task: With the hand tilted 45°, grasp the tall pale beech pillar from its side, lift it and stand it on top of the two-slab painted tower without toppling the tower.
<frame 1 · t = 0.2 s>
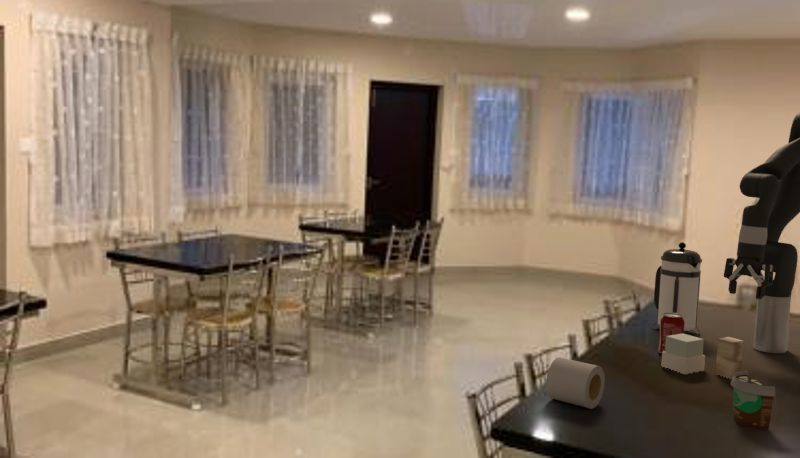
hand: (745, 296, 232), 18 cm above the table, tool pointing down, fingers open, 8 cm apart
coffee press: (672, 331, 263), on the table
food container: (744, 422, 177), on the table
toilet paper: (574, 403, 187), on the table
soda can: (669, 354, 233), on the table
tower base: (682, 369, 219), on the table
beech pillar: (728, 375, 213), on the table
tower top: (683, 353, 218), point 4 cm above the table
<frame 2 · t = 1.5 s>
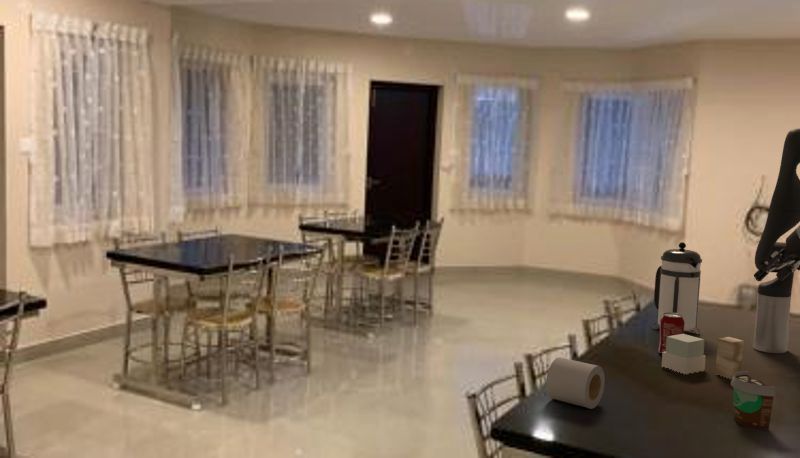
hand: (767, 278, 204), 28 cm above the table, tool tilted 40°, fingers open, 8 cm apart
tower base: (682, 369, 219), on the table, touching tower top
tower top: (684, 353, 218), point 4 cm above the table, touching tower base
everything else where it was.
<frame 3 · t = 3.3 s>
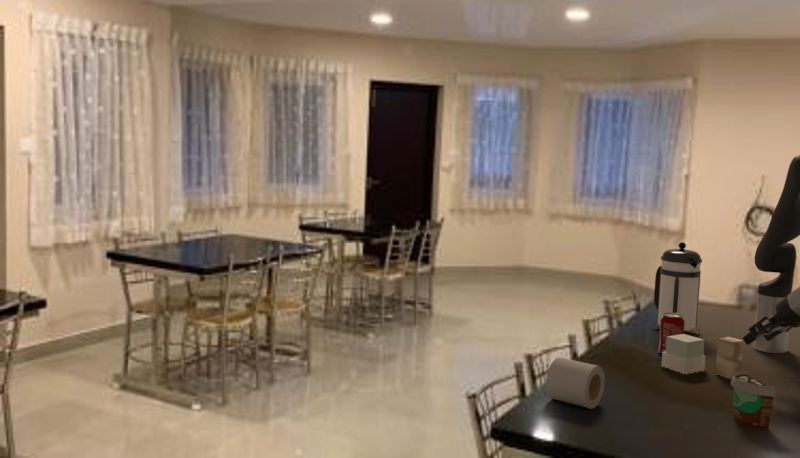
hand: (755, 339, 206), 12 cm above the table, tool tilted 45°, fingers open, 8 cm apart
tower base: (682, 369, 219), on the table
tower top: (684, 353, 218), point 4 cm above the table
everything else where it was.
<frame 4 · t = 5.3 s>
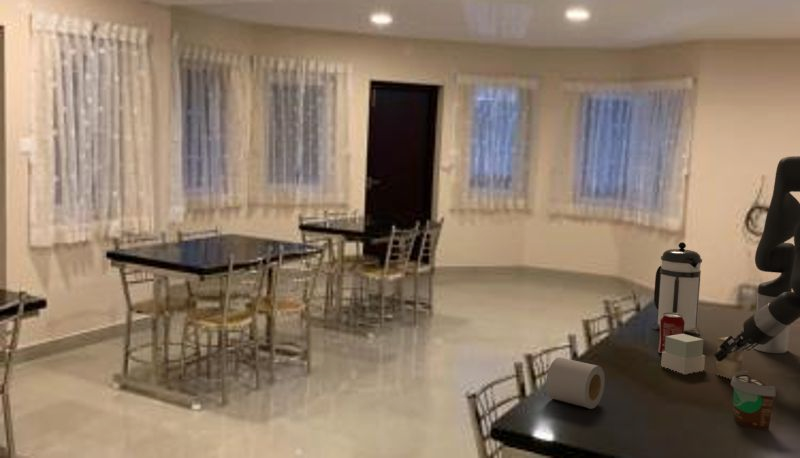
hand: (723, 357, 214), 5 cm above the table, tool tilted 45°, fingers closed on beech pillar, 4 cm apart
tower base: (682, 369, 219), on the table, touching tower top
beech pillar: (728, 375, 213), on the table, touching gripper
tower top: (683, 353, 218), point 4 cm above the table, touching tower base
everything else where it was.
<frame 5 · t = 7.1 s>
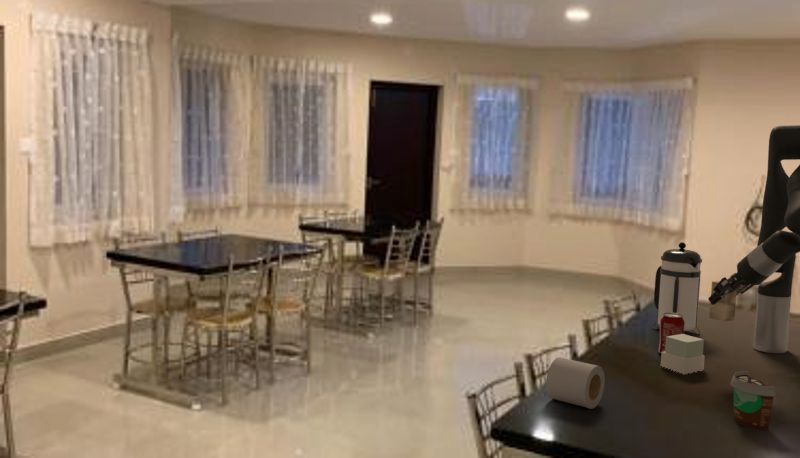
hand: (716, 300, 214), 20 cm above the table, tool tilted 45°, fingers closed on beech pillar, 4 cm apart
beech pillar: (721, 319, 213), point 15 cm above the table, touching gripper
everything else where it was.
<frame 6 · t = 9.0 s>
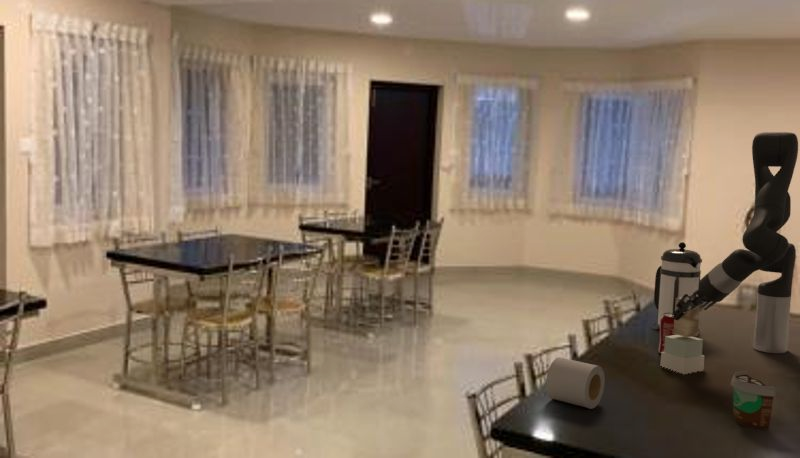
hand: (680, 316, 218), 14 cm above the table, tool tilted 45°, fingers closed on beech pillar, 4 cm apart
beech pillar: (685, 334, 217), point 10 cm above the table, touching gripper
everything else where it was.
when the fingers open (14 cm above the table, at t = 9.3 s): beech pillar stays where it is, resting on tower top.
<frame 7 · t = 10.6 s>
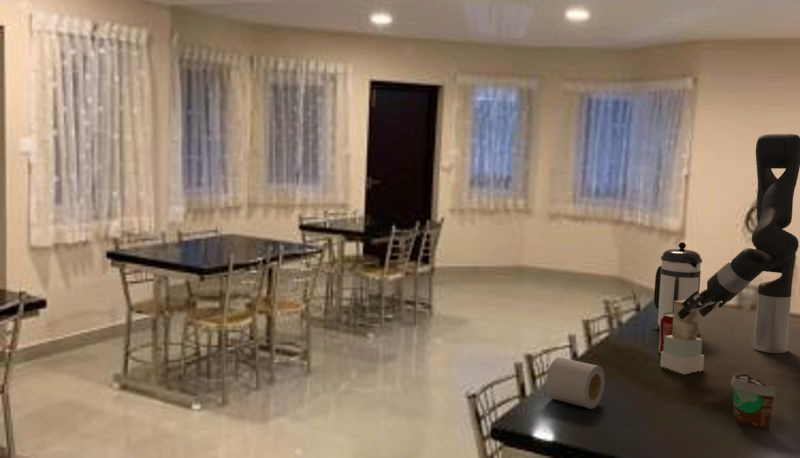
hand: (690, 315, 215), 15 cm above the table, tool tilted 45°, fingers open, 8 cm apart
beech pillar: (684, 337, 218), point 9 cm above the table, touching tower top
tower top: (682, 353, 218), point 4 cm above the table, touching beech pillar, tower base
everything else where it was.
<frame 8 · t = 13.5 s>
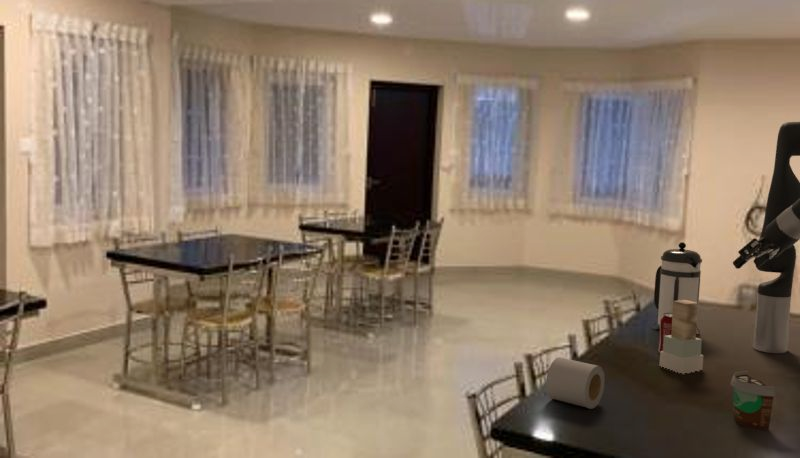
hand: (745, 265, 207), 31 cm above the table, tool tilted 45°, fingers open, 8 cm apart
nothing on the table moved.
at the end: beech pillar 0.1 cm off-centre on the tower base, point 9.0 cm above the tower base's base; beech pillar tilted 0°; tower top moved 0.6 cm from its start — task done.
